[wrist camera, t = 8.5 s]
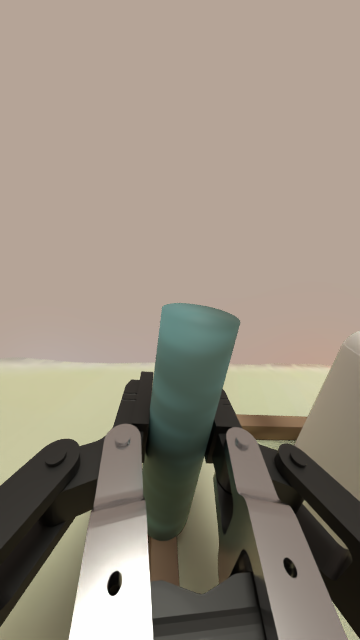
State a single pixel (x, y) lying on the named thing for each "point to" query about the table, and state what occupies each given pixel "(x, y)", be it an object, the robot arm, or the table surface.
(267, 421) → the brown wooden frame
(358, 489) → the pill bottle
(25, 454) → the table surface
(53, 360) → the table surface
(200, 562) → the table surface
